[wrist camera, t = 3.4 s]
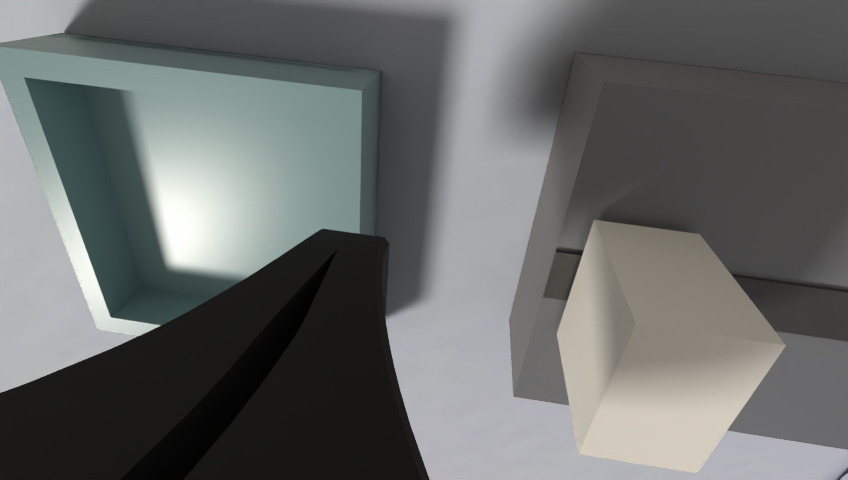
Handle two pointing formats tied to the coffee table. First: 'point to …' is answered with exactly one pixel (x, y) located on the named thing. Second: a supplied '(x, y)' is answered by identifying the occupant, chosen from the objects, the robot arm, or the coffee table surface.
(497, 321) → the coffee table surface
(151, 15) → the coffee table surface
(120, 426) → the robot arm
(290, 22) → the coffee table surface
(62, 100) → the tray
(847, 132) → the grey flat block
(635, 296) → the switch
